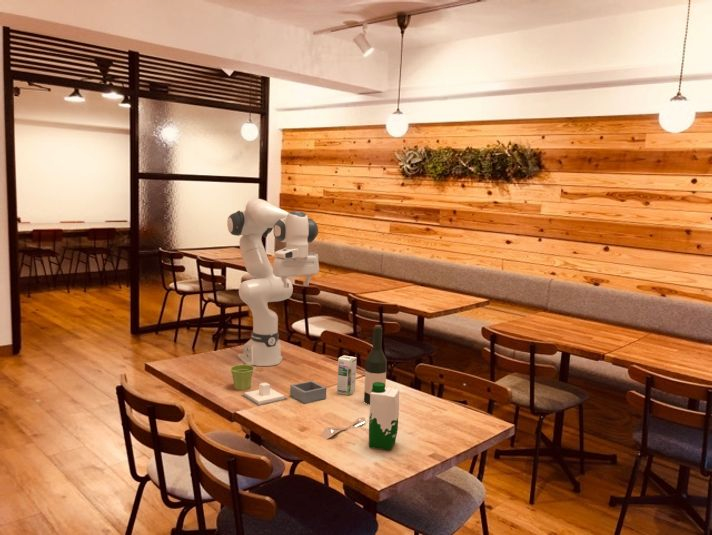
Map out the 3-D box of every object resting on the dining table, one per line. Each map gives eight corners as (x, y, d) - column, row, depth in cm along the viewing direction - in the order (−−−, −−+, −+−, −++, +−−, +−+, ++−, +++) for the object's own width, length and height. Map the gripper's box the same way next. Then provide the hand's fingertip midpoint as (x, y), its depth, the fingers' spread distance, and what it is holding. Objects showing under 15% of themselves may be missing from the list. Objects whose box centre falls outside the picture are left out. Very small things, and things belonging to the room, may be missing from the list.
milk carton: (372, 437, 199) (375, 379, 196) (398, 441, 197) (402, 382, 194) (365, 448, 191) (368, 387, 188) (393, 452, 188) (396, 391, 186)
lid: (244, 395, 231) (244, 382, 230) (269, 390, 238) (269, 377, 237) (258, 404, 222) (259, 390, 222) (284, 398, 229) (284, 385, 228)
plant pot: (246, 394, 234) (247, 373, 232) (225, 391, 237) (225, 369, 235) (258, 387, 242) (258, 366, 241) (237, 383, 245) (237, 363, 244)
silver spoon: (359, 410, 213) (369, 414, 210) (359, 419, 213) (369, 423, 210) (318, 429, 198) (329, 433, 195) (318, 439, 199) (329, 443, 196)
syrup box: (336, 393, 239) (337, 358, 237) (342, 389, 245) (344, 354, 243) (349, 396, 237) (350, 360, 235) (355, 391, 242) (357, 356, 240)
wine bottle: (370, 396, 238) (373, 322, 234) (388, 400, 233) (392, 325, 229) (359, 402, 231) (363, 325, 226) (378, 407, 226) (382, 329, 222)
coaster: (240, 396, 231) (240, 395, 231) (270, 390, 239) (270, 389, 239) (257, 407, 221) (257, 405, 221) (287, 400, 229) (287, 399, 229)
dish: (289, 397, 233) (290, 385, 232) (311, 392, 239) (311, 380, 238) (304, 405, 225) (304, 392, 224) (326, 400, 231) (326, 387, 230)
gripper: (313, 250, 249) (312, 283, 250) (271, 252, 236) (270, 287, 238) (322, 252, 244) (321, 285, 246) (279, 254, 231) (279, 289, 233)
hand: (296, 286), depth 242 cm, fingers open, 8 cm apart
